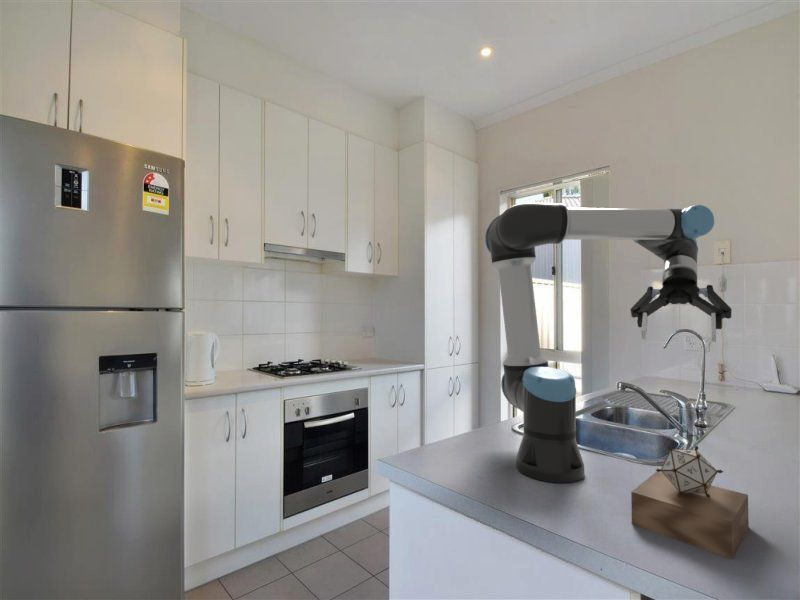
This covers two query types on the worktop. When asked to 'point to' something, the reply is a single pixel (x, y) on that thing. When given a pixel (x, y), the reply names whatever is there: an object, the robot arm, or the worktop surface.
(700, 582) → the worktop surface
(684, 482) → the game die
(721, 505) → the walnut block
